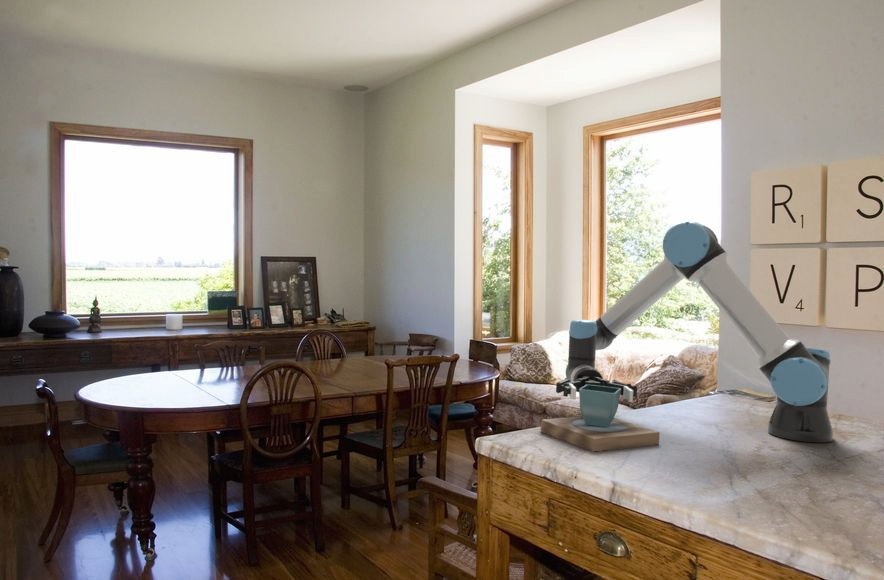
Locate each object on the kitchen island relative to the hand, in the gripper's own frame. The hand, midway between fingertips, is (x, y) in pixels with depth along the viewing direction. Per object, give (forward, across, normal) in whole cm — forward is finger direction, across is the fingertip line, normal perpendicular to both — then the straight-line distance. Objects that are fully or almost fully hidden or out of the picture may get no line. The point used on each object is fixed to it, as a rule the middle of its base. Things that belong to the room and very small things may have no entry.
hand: (602, 395), depth 167 cm
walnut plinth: (-3, 0, -11) cm, 11 cm away
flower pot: (-3, 0, -8) cm, 8 cm away
